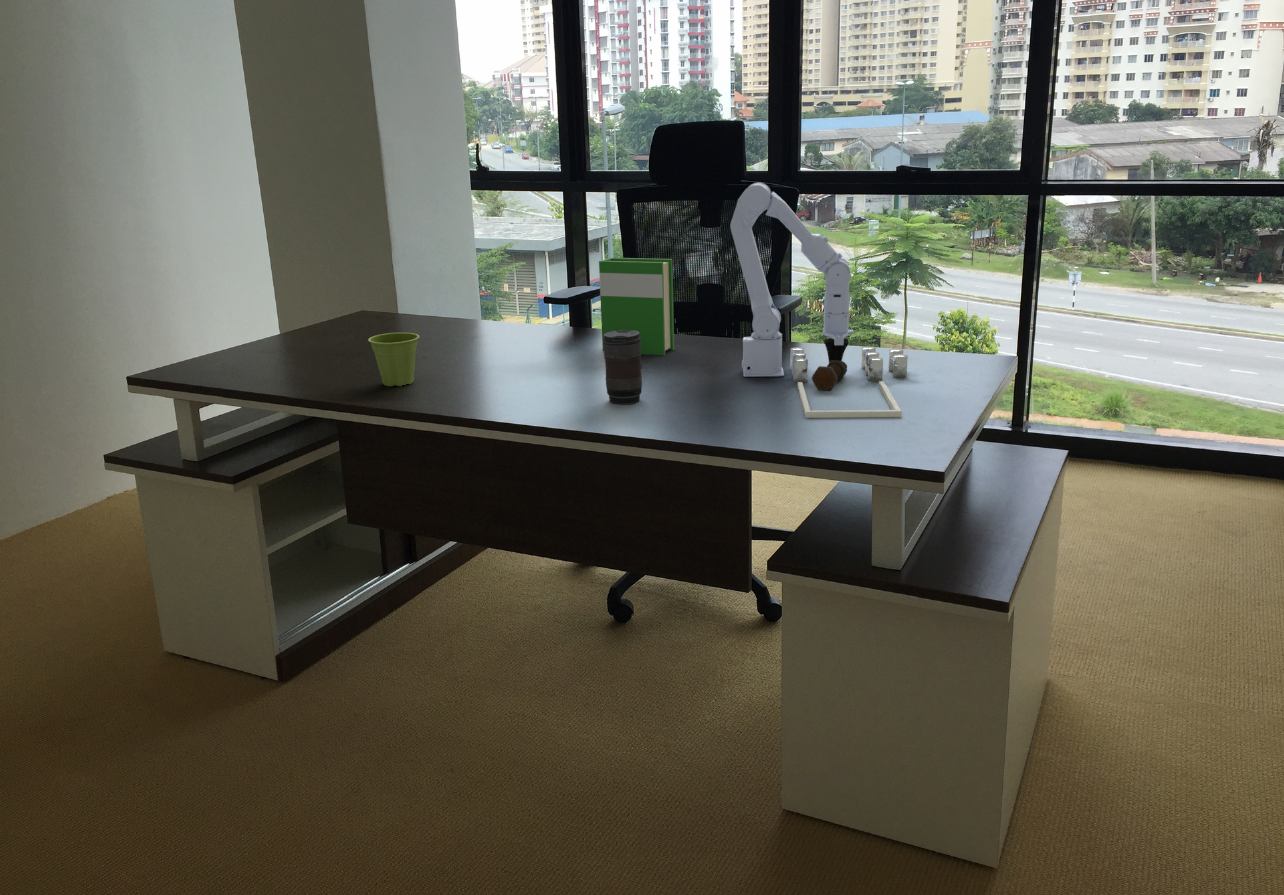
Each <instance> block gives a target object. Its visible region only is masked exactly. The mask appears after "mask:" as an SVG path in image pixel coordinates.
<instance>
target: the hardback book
mask: <svg viewBox="0 0 1284 895" xmlns="http://www.w3.org/2000/svg"><path fill="white" fill-rule="evenodd" d="M673 271H674V270H673V259H672V258H643V257H642V258H640V257H639V258H635V257H634V258H633V257H632V258H631V257H608V258H606V259H605V258H604V259H602V260H600V261H598V272H599V273H598V274H599V292H600V293H599V296H600V298H599V299H600V317H601V320H600V321H601V339H602V340H601V341H602V342H601V343H602V345H601V346H602V352H603V353H604V345H603V341H604V340H603V339H604V334H605V333H607V332H611V331H618V330H634V331H638V332H639V335H640V339H641V355H650V354H653V355H654V354H655V355H654V356H665V355H666V351H674V350H675V325H674V280H673V278H674V276H673ZM656 354H657V355H656ZM653 355H652V356H653Z"/></svg>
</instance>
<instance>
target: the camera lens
mask: <svg viewBox="0 0 1284 895" xmlns="http://www.w3.org/2000/svg"><path fill="white" fill-rule="evenodd" d="M603 340H604V341H603V345H604V352H603V356H604V357H603V358H604V363H605V364H604V366H605V387H606V393H607V395H608V400H609V402H610V403H613V404H616V405H630V404H636V403H638V402H640V400H641V398H640V397H641V394H642V392H643V391H642V389H643V388H642V387H643V381H642V380H643V377H642V369H643V367H642V366H643V365H642V360H641V359H642V354H641V339H640V335H639V332H638V331H634V330H618V331H611V332H607V333H605V334H604V339H603Z"/></svg>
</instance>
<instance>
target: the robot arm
mask: <svg viewBox="0 0 1284 895" xmlns="http://www.w3.org/2000/svg"><path fill="white" fill-rule="evenodd" d="M765 211H766V213H765V216H767V217H772V218H775V219H777V220H779V221H780V222H781V223H782V224H783V226H785V228H786V229H788V231H790V232H791V234H792V235H793V236H794V237H795V238H796V239H797V240H798V241H799V242H800V243H801V245H800V246H801V248H800V251H801V253H802V254H803V256H805V258H807V260H808V261H809V262H810V263H811V265H813V266H814V268H815V269H817V271H818V272H821V273H823V275H824V277H823V278H824V280H825V291H824V299H823V300H824V301H823V330H822V335H823V336H826V337H827V338H823V340H822V342H823V343H824V346H825V348H826V351H827V358H828V364H829V363H830V361H831V360H838V361H843V357H844V354H845V351H846V349H847V347H848V345H849V339H848V338H847V337H848V336H849V335H854V334H855V333H854V329H849V322H850V321H849V320H850V297H851V296H850V291H849V290H850V283H849V282H850V281H851V278H852V273H851V268H850V265H849V263H847V260H846V259H844V258H843V255H842V254H841V252H837V251H836V250H835V249H834V248H833V246H832V245H831V244H830V243H829V241H830V240H829V238H828V237H827V236H826V235H824V236H823V235H821V233H812V232H811V231H810V230H809V229H808V227H807V226H806V225H805V224H804V223H803V222H802V220H801V219H800V218H799V217H798V216H797V214H796V213H795V212H794V211H793V210H792V208H791V207H790V205H788V204H787V202H786V201H785V200H784V199H782V197H781V196H779V195H778V194H777V193H776V192H775V191H771V188H770V186H768V185H767V184H765V183H763V182H754V183H752V184H750V185H749V186H748V187H747V188H745V189H744V191H743V192H742V193H741V195H740V196H739V198H737V202H736V206H735V209H734V211H733V215H732V218H731V221H730V224H729V225H730V232H731V236H732V238H733V242H734V246H735V249H736V253H737V256H738V260H739V263H740V267H741V271H742V274H743V275H742V276H743V278H744V282H745V284H746V288H747V293H748V296H749V300H750V306H751V312H752V316H753V317H752V324H751V326H752V327H751V328H752V331H753V332H751V335H750V336H743V338H742V360H741V368H742V371H743V372H742V374H743V375H742V376H743V377H745V378H746V377H748V378H749V377H784V376H785V373H784V369H783V367H782V363H783V361H782V360H783V357H782V356H783V347H782V346H783V333H781V332H780V326H781V325H780V323H781V321H782V316H781V312H780V311H779V309H778V308H777V307H776V305H774V301H773V298H772V296H771V294H770V290H769V287H768V283H767V282H768V281H767V279H766V275H765V272H764V271H765V270H764V269H763V264H762V261H761V258H760V254H759V250H758V246H757V242H756V238H755V235H754V233H753V226H754V225H755V223H756V221H757V219H758V218H759V216H761V214H762V213H763V212H765Z"/></svg>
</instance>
